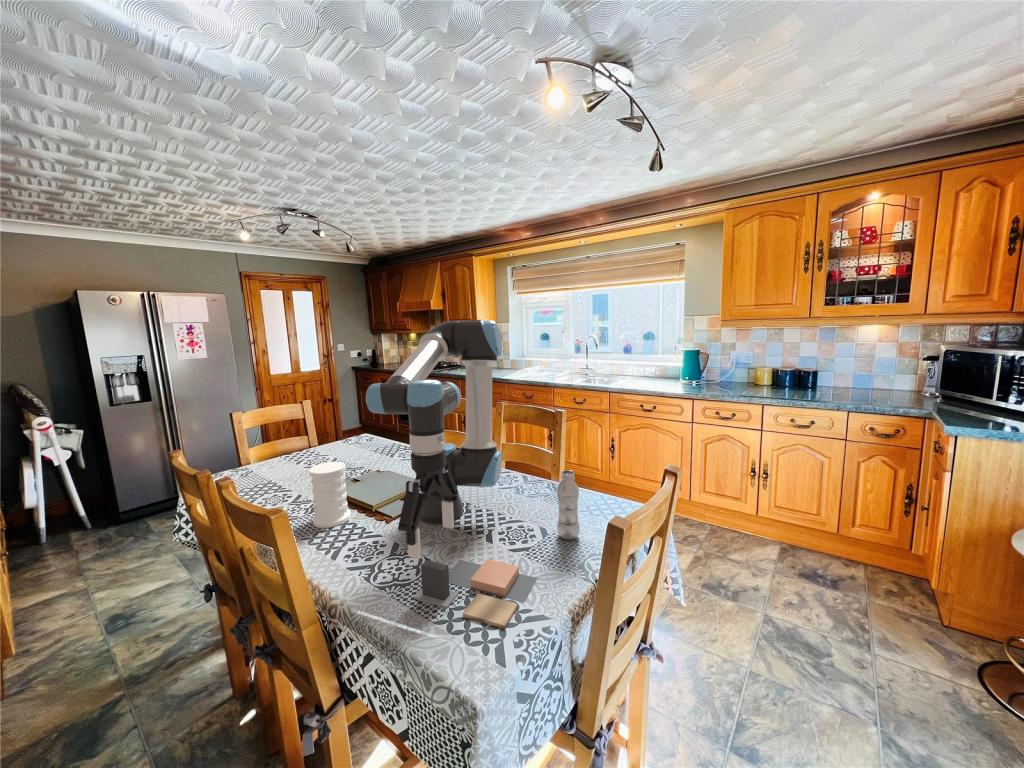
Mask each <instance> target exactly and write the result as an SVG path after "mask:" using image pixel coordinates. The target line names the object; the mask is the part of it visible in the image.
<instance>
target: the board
mask: <svg viewBox="0 0 1024 768" xmlns="http://www.w3.org/2000/svg"><path fill="white" fill-rule="evenodd" d="M517 608H518V603H516V602H512V601H509V600H505V599H500V598H498V597H492V596H490V595H486V594H482V593H479V592H478V593H476V594H475V596H474V597H473V599H472V600H471V601H470V603H469V604H468V605H467V607H466V608H465V609H464V611H463V612H462V617H463V618H467V619H469V620H474V621H477V622H481V623H484V624H487V625H490V626H495V627H498V628H501V629H503V630H504V629H507V627H508V625H509V623H510V621H511V619H512V617H513V616H514V614H515V612H516V610H517Z"/></svg>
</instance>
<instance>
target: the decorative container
mask: <svg viewBox="0 0 1024 768" xmlns="http://www.w3.org/2000/svg"><path fill="white" fill-rule="evenodd" d="M346 469H347V467H346V464H345V463H344V462H343V461H342V462H341V461H328V462H322V463H319V464H318V463H317V464H316V465H313V466H311V467H309V470H308V475H309V476H310V477H311V481H310V483H311V485H312V490H311V491H312V495H313V498H312V499H313V501H312V502H313V504H314V508H313V512H314V516H313V517H312V525H313V526H314V527H316V528H319V529H321V528H322V529H326V528H327V529H328V528H334V527H338V526H340V525H343V524H345V523H347V522H348V521H350V519H351V517H352V513H351V510H350V509H349V508H348V506H349V504H348V500H347V497H348V495H347V491H346V488H347V484H346V482H345V481H346V475H345V473H344V472H345V471H346Z"/></svg>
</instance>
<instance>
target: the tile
mask: <svg viewBox="0 0 1024 768" xmlns="http://www.w3.org/2000/svg"><path fill="white" fill-rule="evenodd" d="M481 565H482V566H481V567H480V568H479V569H478V571H477V572H476V573H475V574H474V576H473V577H472V578H471V579H470V582H471V587H472V588H476V589H480V590H484V591H488V592H492V593H496V594H499V595H503V596H505V595H506V594H507V592H508V591H509V589H510V587H511V586H512V584H513V583H514V581H515V579H516V578H517V576H518V575H519V574H520V566H519V565H516V564H515V565H514V564H511V563H507V562H504V561H503V562H502V561H498V560H493V559H489V558H486V560H484V562H483V563H482V564H481Z"/></svg>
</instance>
